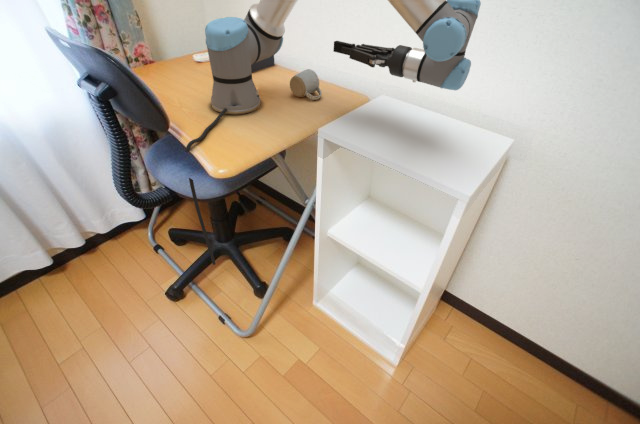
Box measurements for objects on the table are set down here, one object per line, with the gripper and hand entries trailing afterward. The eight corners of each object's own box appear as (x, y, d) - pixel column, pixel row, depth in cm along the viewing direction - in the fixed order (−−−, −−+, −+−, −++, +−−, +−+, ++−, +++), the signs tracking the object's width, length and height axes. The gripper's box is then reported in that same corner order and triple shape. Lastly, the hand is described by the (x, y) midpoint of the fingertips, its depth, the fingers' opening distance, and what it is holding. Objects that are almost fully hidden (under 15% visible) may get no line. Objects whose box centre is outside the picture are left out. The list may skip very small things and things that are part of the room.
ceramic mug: (288, 94, 107) (287, 71, 102) (302, 88, 112) (303, 66, 107) (312, 103, 103) (313, 80, 98) (326, 96, 108) (327, 74, 103)
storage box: (252, 72, 123) (249, 43, 115) (229, 65, 128) (225, 36, 121) (274, 65, 131) (273, 37, 124) (252, 58, 136) (249, 31, 129)
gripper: (394, 83, 81) (321, 64, 91) (414, 71, 89) (345, 55, 99) (400, 52, 76) (323, 35, 86) (420, 43, 84) (347, 28, 94)
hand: (335, 46), depth 92 cm, fingers closed
